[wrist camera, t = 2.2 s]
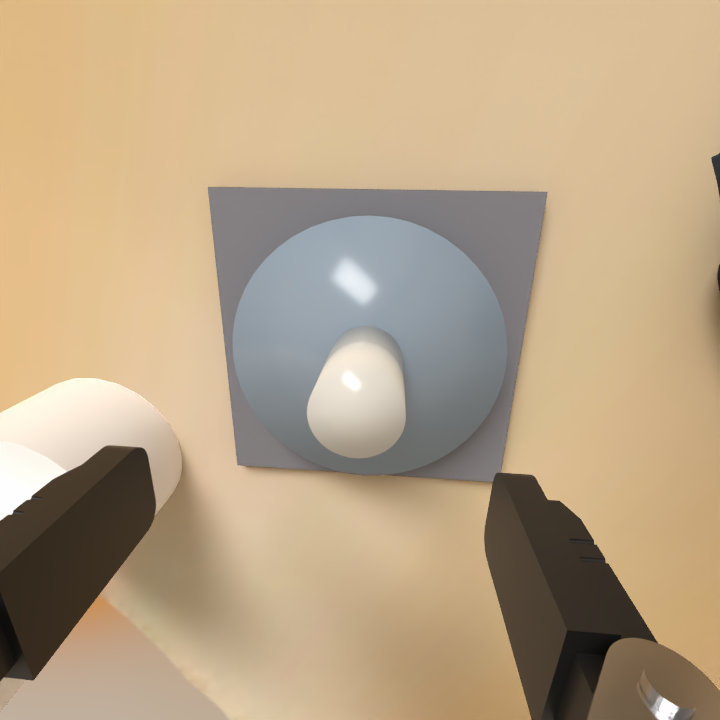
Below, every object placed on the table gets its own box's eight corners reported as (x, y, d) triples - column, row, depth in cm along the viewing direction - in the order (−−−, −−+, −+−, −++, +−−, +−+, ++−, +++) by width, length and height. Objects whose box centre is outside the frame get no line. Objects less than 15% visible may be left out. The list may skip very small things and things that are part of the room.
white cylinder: (25, 481, 25) (-286, 709, 13) (36, 353, 21) (-362, 511, 10) (166, 531, 25) (-21, 793, 14) (197, 413, 22) (-13, 628, 11)
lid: (517, 217, 16) (589, 223, 10) (481, 464, 21) (517, 570, 15) (232, 212, 17) (144, 215, 11) (254, 450, 22) (199, 545, 16)
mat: (542, 192, 17) (547, 192, 16) (496, 475, 22) (498, 482, 21) (213, 187, 18) (207, 187, 17) (241, 458, 23) (237, 465, 22)
